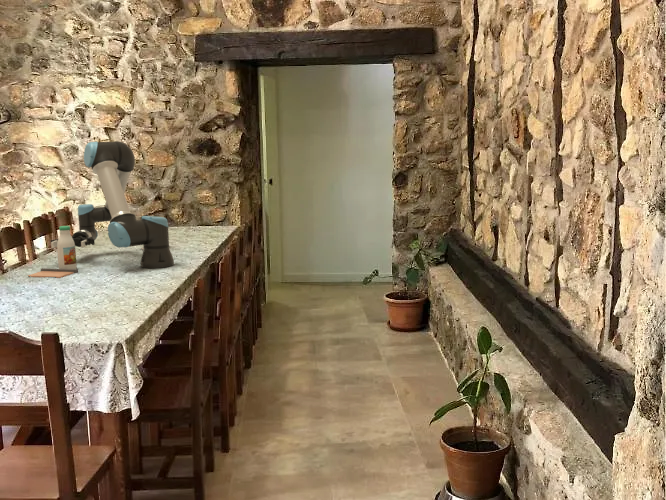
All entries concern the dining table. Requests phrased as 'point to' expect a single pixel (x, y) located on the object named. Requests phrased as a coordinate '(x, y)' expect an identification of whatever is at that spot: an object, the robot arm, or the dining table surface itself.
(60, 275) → the tile
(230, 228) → the dining table surface
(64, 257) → the milk bottle
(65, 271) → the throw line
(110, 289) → the dining table surface
